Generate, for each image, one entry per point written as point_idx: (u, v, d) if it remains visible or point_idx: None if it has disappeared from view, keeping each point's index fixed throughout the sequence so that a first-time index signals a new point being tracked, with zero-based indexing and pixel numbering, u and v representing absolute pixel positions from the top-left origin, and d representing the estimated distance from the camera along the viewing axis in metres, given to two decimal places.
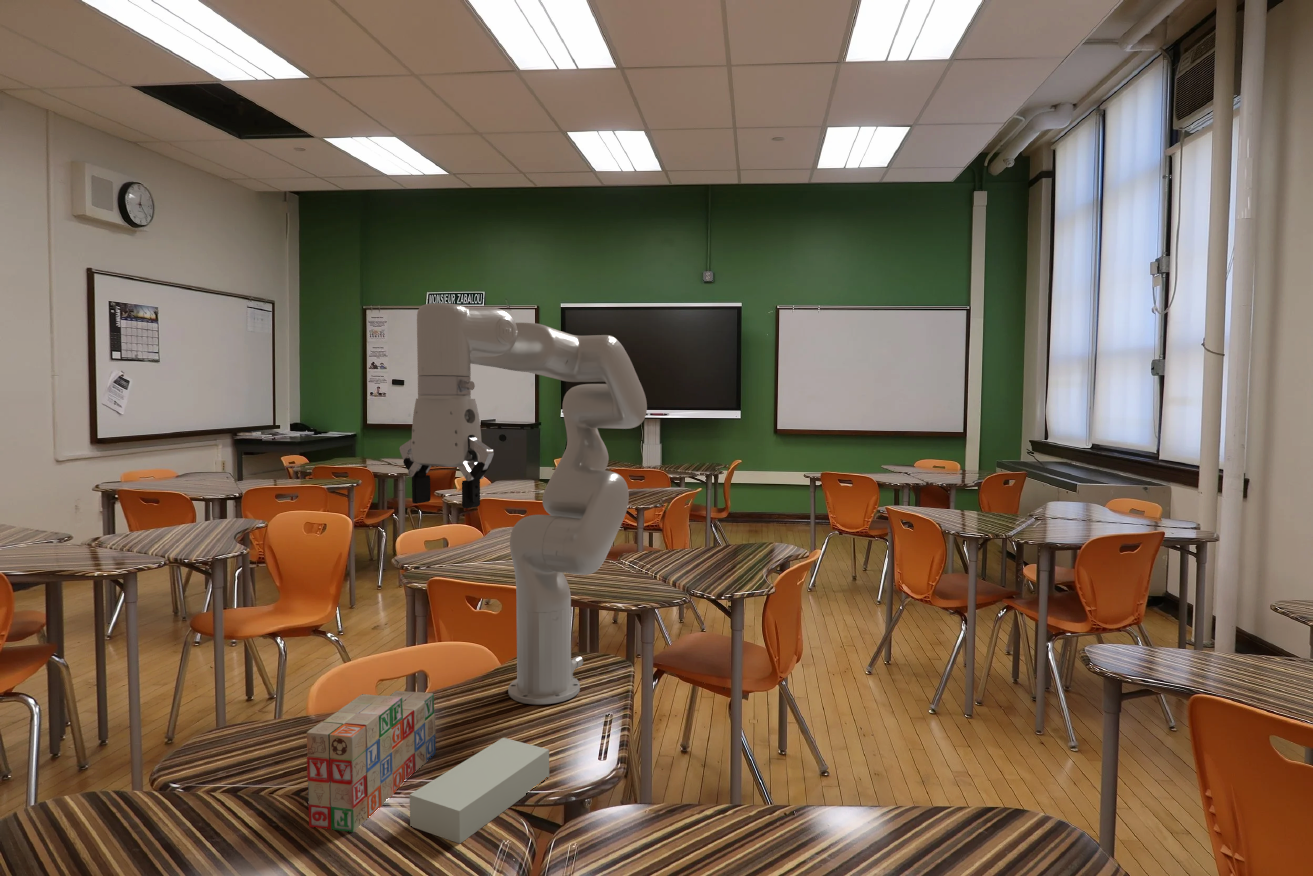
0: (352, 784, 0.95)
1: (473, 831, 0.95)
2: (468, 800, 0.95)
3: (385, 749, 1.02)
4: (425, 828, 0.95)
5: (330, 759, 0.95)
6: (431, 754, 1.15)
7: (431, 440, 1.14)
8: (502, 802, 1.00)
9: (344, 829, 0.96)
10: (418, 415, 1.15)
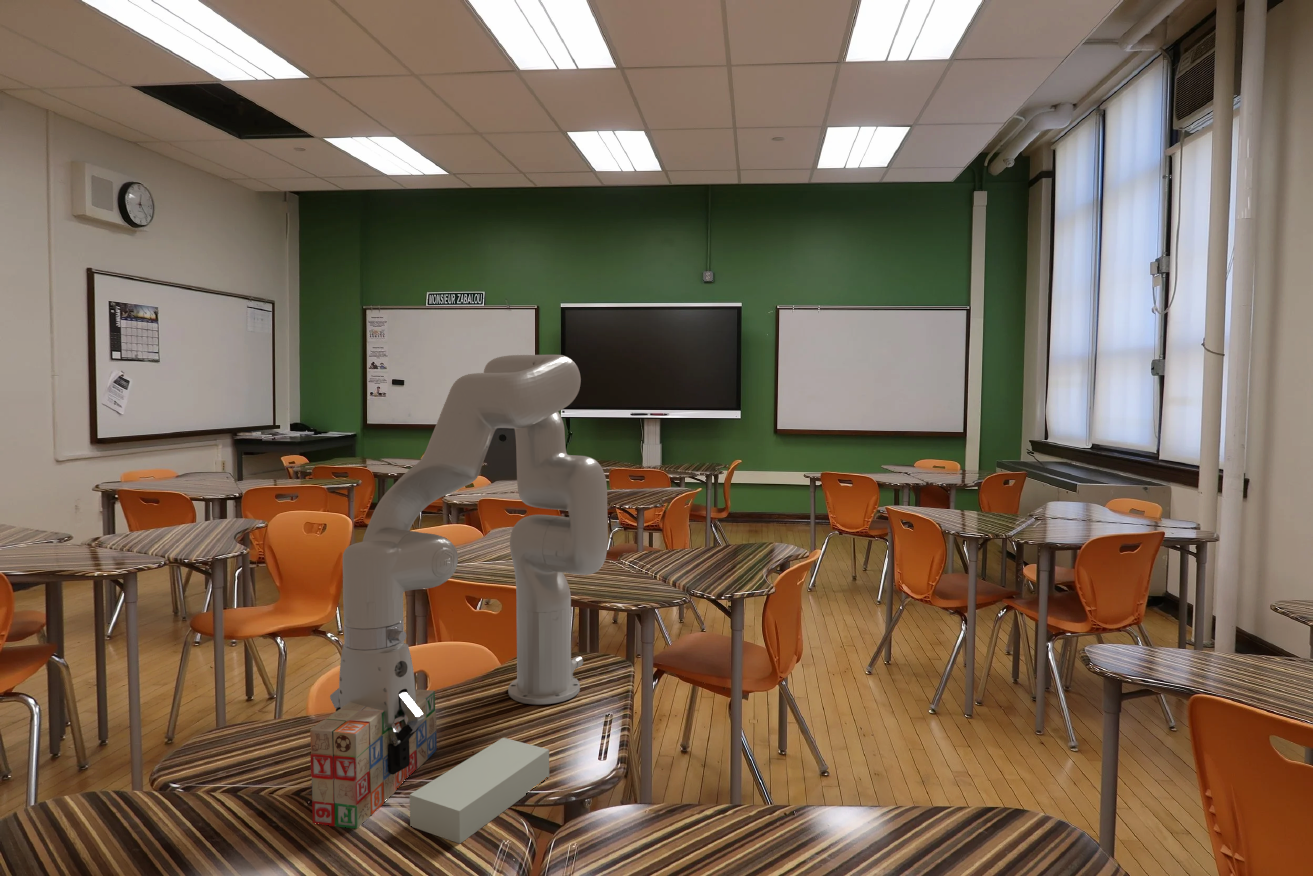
0: (356, 780, 0.96)
1: (473, 831, 0.95)
2: (468, 800, 0.95)
3: (387, 746, 1.03)
4: (425, 828, 0.95)
5: (334, 756, 0.96)
6: (432, 751, 1.16)
7: (359, 694, 1.03)
8: (502, 802, 1.00)
9: (348, 825, 0.96)
10: (345, 665, 1.04)
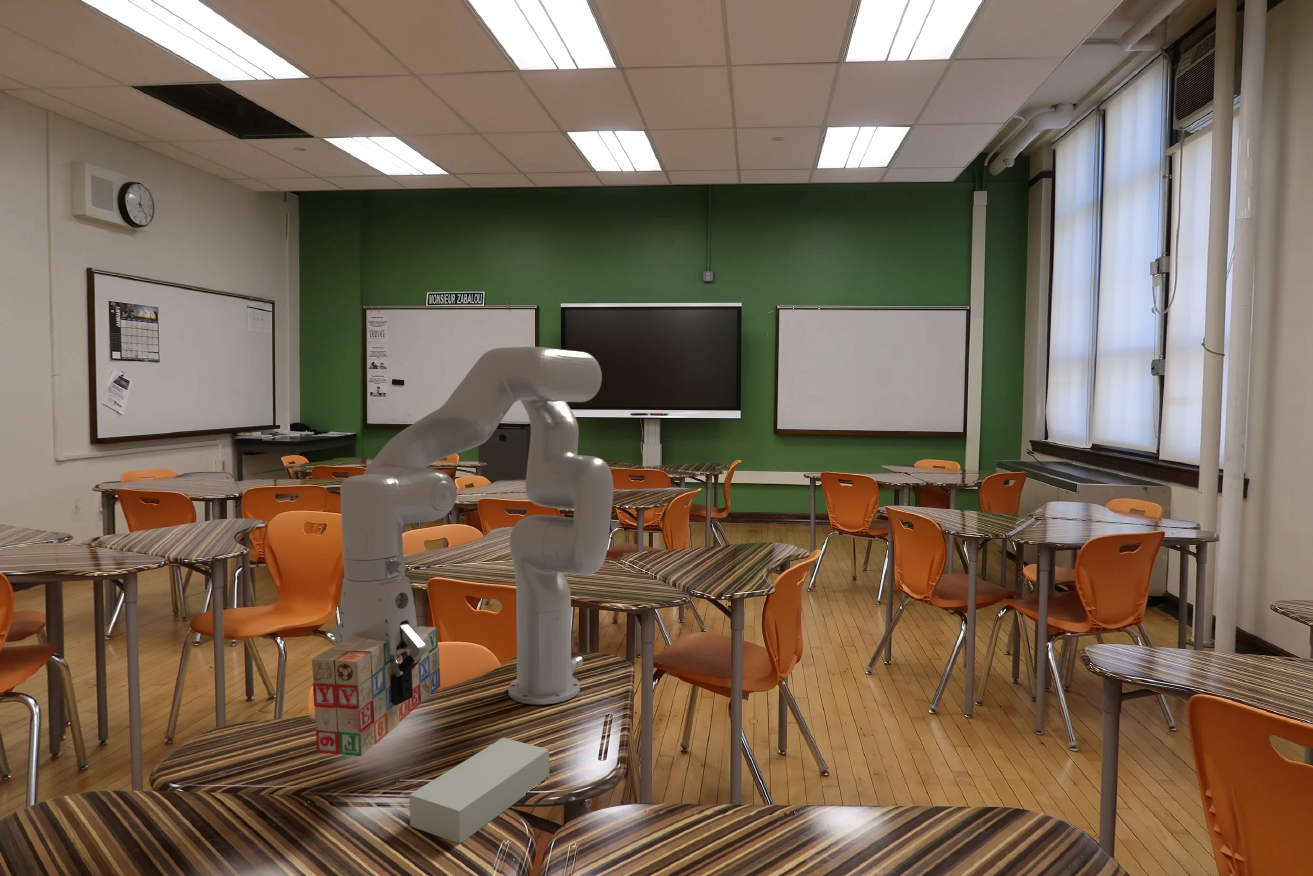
0: (359, 708, 0.96)
1: (473, 831, 0.95)
2: (468, 800, 0.95)
3: (390, 677, 1.03)
4: (425, 828, 0.95)
5: (337, 685, 0.96)
6: (436, 687, 1.16)
7: (360, 627, 1.03)
8: (502, 802, 1.00)
9: (352, 753, 0.97)
10: (346, 598, 1.04)
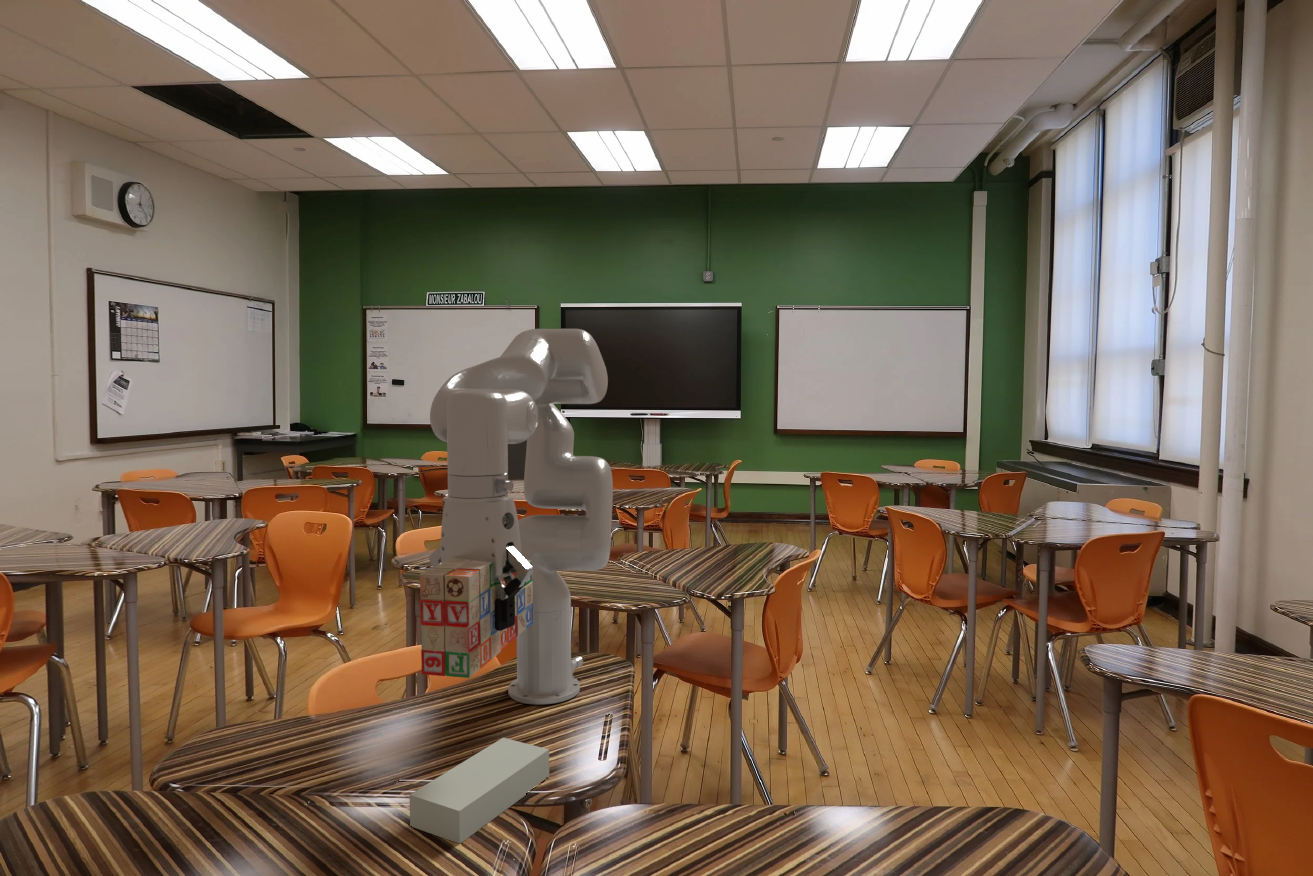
0: (468, 626, 0.91)
1: (473, 831, 0.95)
2: (468, 800, 0.95)
3: (494, 601, 0.98)
4: (425, 828, 0.95)
5: (446, 601, 0.91)
6: (529, 622, 1.11)
7: (464, 548, 0.99)
8: (502, 802, 1.00)
9: (459, 674, 0.92)
10: (449, 518, 1.00)
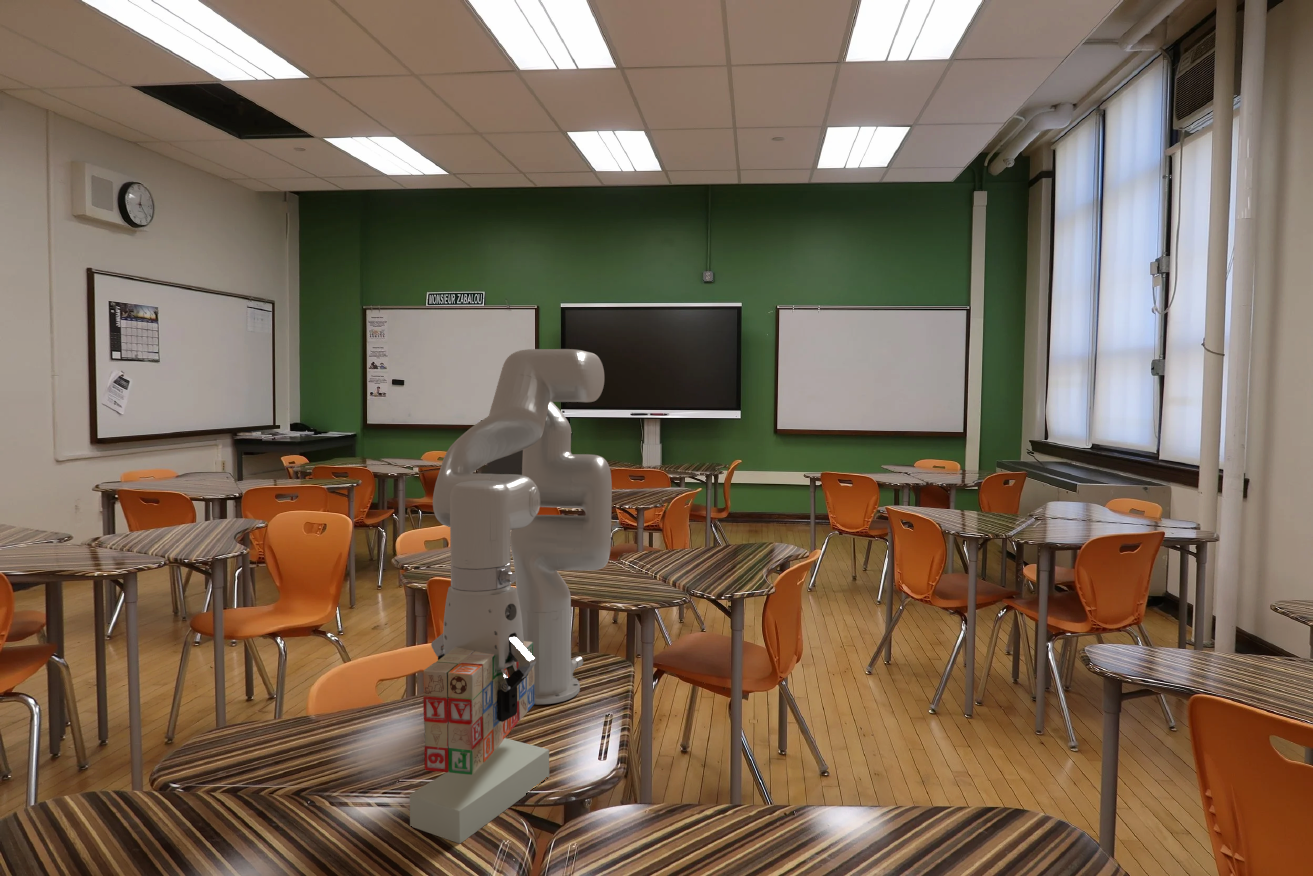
0: (472, 723, 0.92)
1: (473, 831, 0.95)
2: (468, 800, 0.95)
3: (496, 692, 0.99)
4: (425, 828, 0.95)
5: (449, 698, 0.92)
6: (531, 704, 1.11)
7: (466, 639, 0.99)
8: (502, 802, 1.00)
9: (462, 771, 0.92)
10: (451, 608, 1.00)
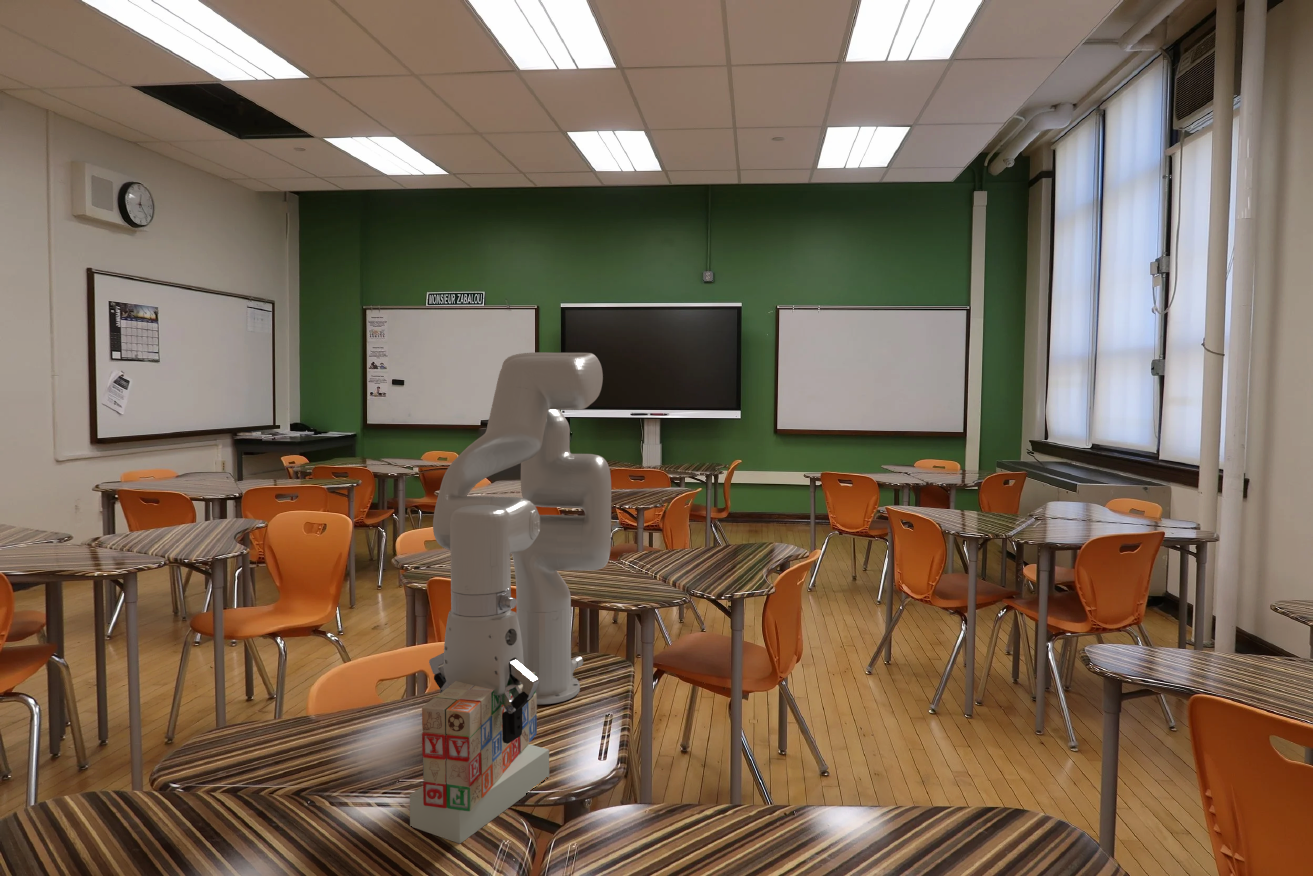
0: (469, 761, 0.92)
1: (473, 831, 0.95)
2: None
3: (496, 727, 0.99)
4: (425, 828, 0.95)
5: (447, 735, 0.92)
6: (533, 734, 1.12)
7: (467, 663, 1.00)
8: (502, 802, 1.00)
9: (460, 807, 0.93)
10: (452, 633, 1.01)
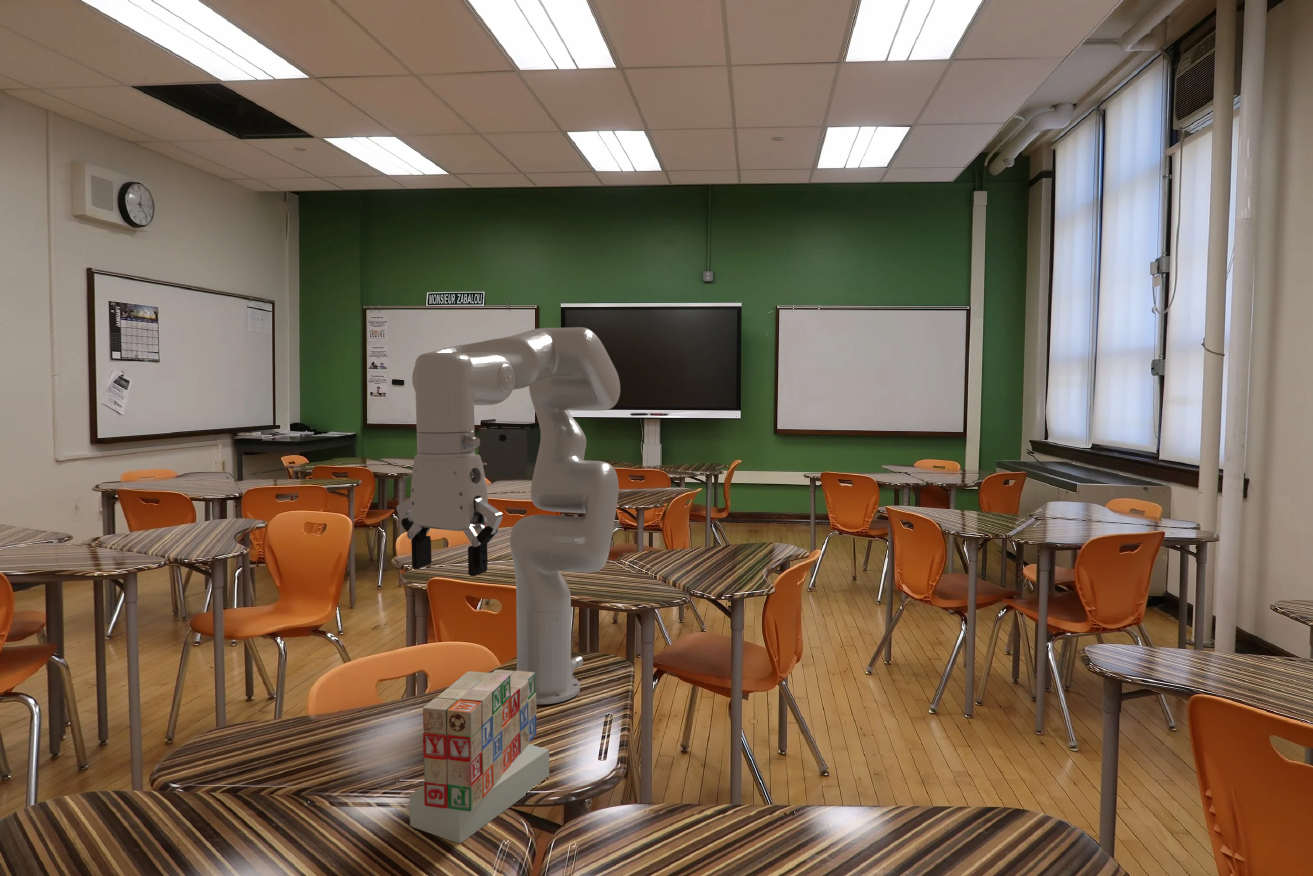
0: (470, 761, 0.92)
1: (473, 831, 0.95)
2: None
3: (496, 727, 0.99)
4: (425, 828, 0.95)
5: (448, 736, 0.92)
6: (533, 734, 1.12)
7: (433, 502, 1.04)
8: (502, 802, 1.00)
9: (462, 807, 0.93)
10: (418, 474, 1.05)
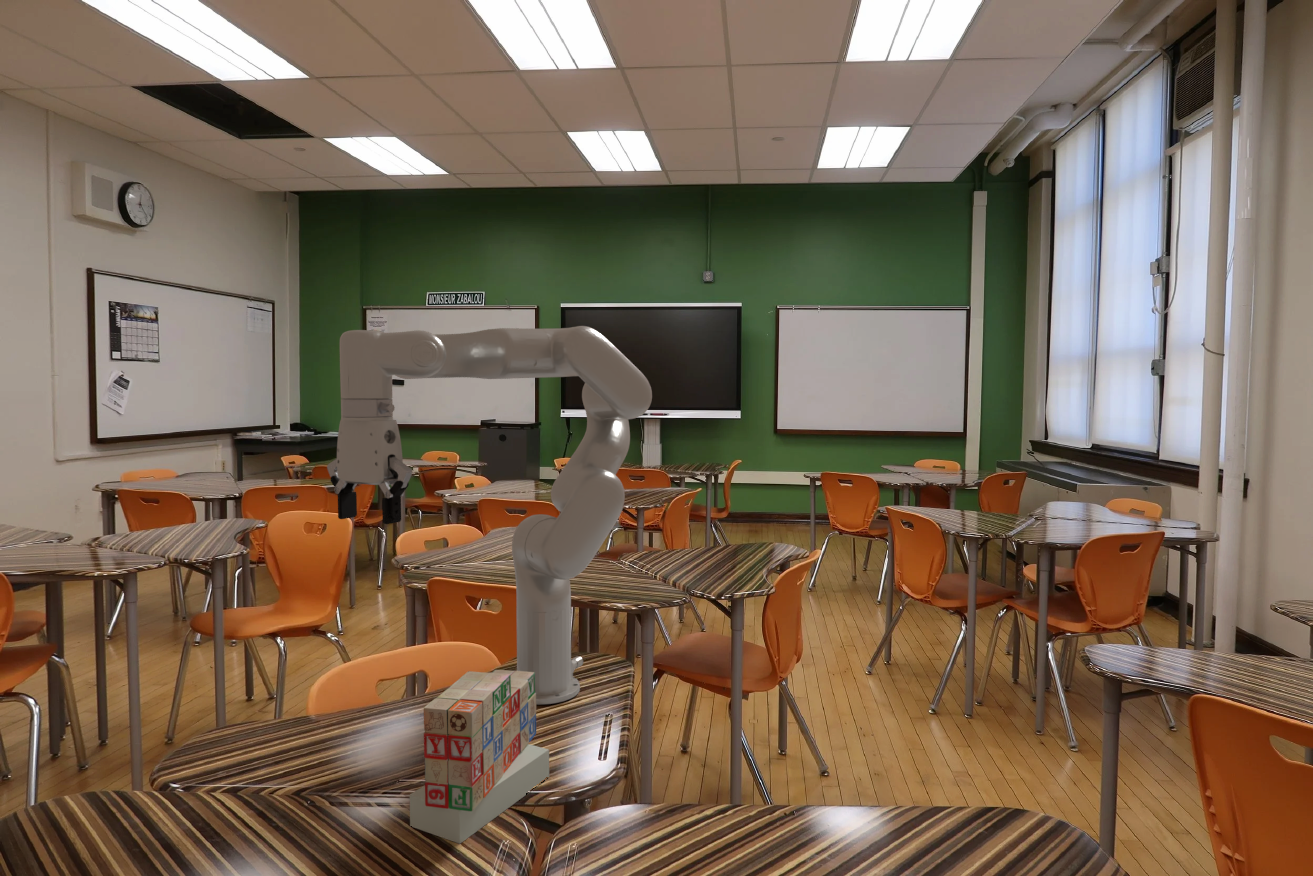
0: (471, 761, 0.92)
1: (473, 831, 0.95)
2: None
3: (497, 727, 0.99)
4: (425, 828, 0.95)
5: (449, 736, 0.92)
6: (533, 734, 1.12)
7: (354, 459, 1.20)
8: (502, 802, 1.00)
9: (462, 808, 0.93)
10: (342, 436, 1.21)
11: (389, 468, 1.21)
